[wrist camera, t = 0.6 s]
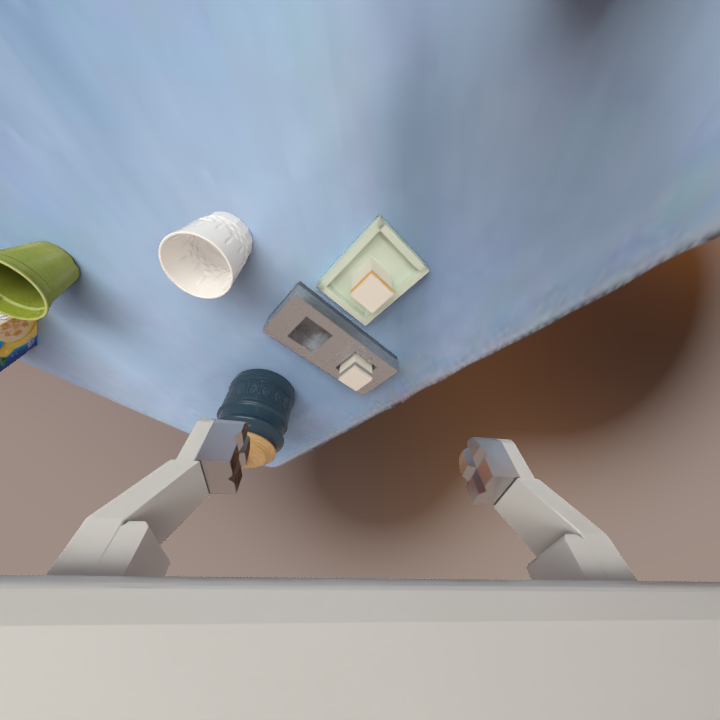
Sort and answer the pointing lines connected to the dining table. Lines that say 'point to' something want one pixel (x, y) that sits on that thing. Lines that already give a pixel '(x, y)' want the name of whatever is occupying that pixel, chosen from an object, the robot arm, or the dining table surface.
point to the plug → (371, 285)
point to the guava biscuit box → (15, 338)
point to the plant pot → (33, 279)
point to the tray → (387, 253)
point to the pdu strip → (326, 336)
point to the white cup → (206, 254)
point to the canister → (260, 411)
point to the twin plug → (355, 371)
